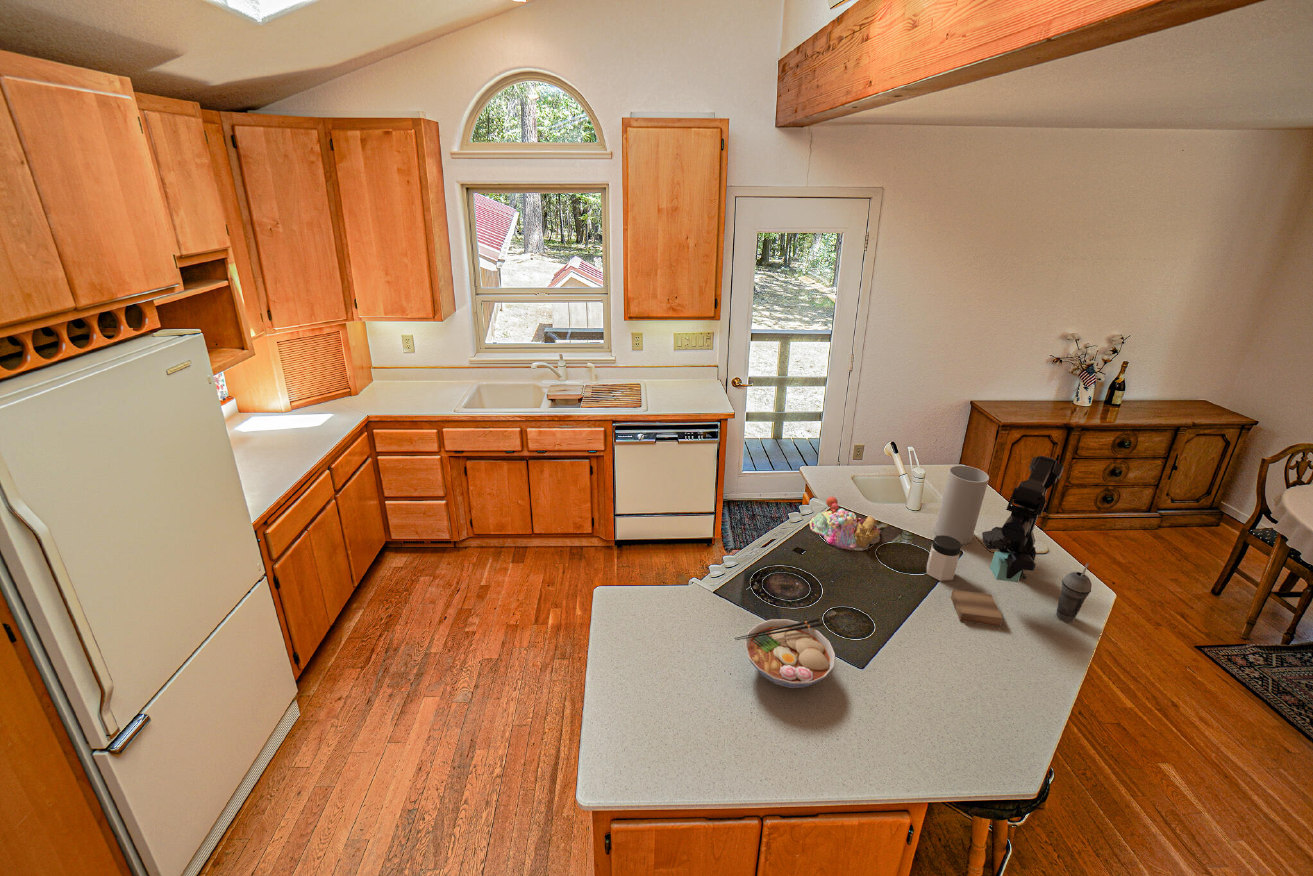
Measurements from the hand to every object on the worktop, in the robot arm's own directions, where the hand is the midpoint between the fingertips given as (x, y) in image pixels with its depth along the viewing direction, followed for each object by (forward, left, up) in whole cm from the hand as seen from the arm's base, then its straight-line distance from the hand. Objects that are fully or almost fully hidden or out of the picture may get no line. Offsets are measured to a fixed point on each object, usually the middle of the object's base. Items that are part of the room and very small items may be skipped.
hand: (1004, 572), depth 187 cm
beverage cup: (+3, +19, -12) cm, 22 cm away
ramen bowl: (+41, -63, -12) cm, 76 cm away
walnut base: (+6, -7, -11) cm, 15 cm away
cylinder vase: (-37, -3, -12) cm, 39 cm away
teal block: (0, 0, -1) cm, 1 cm away
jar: (-12, -13, -12) cm, 22 cm away
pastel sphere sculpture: (-31, -42, -12) cm, 54 cm away
